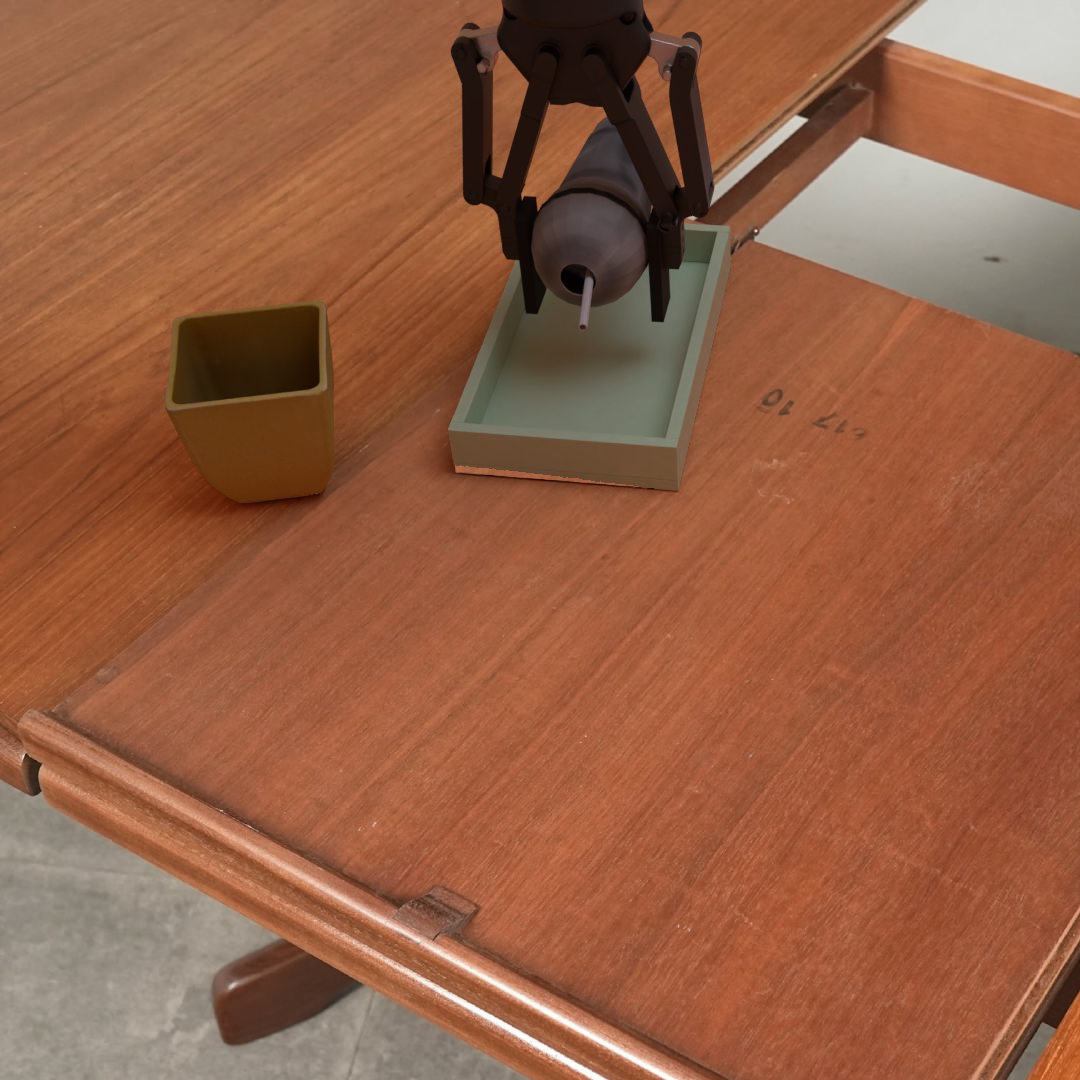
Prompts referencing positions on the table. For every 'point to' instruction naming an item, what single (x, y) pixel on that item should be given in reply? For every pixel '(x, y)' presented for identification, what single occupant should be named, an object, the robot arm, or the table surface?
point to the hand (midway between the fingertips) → (598, 305)
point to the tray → (596, 378)
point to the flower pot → (255, 399)
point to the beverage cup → (594, 226)
